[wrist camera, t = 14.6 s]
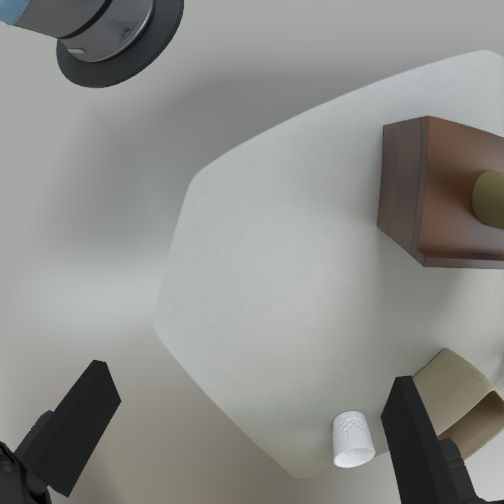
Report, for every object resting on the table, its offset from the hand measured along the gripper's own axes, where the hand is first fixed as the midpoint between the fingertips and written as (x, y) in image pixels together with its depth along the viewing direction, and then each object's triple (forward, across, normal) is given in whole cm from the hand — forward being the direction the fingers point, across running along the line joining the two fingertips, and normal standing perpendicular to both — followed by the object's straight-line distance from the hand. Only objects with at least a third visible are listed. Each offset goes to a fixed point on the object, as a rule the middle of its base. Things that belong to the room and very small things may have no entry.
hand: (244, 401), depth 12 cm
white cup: (+30, +16, -40) cm, 53 cm away
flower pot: (+30, +34, -30) cm, 55 cm away
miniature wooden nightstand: (+30, +24, +7) cm, 39 cm away
